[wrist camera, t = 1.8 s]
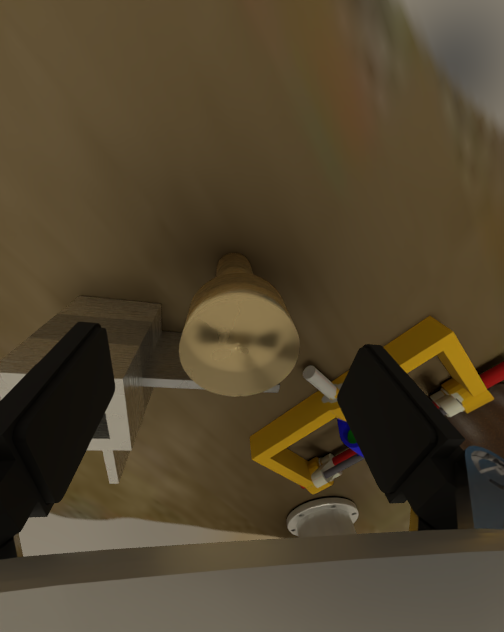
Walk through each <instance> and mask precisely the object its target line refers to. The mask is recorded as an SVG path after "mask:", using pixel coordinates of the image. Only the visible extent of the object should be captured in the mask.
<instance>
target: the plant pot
mask: <svg viewBox="0 0 504 632" xmlns="http://www.w3.org/2000/svg"><path fill="white" fill-rule="evenodd" d="M487 390H488V391H489V392H490V393H491V395H492V396H493V397H494V400H492V401H490V402H488V403H487V404H485V405H483V406H481V407H479V408H477V409H475V410H473V411H471V412H469V413H468V414H467V413H466V412H464V411H463V412H459V413H458V414H456V415H454V416H452V417H447V416H446V415H444V416H445V417H446V418H447V419H448V420H449V421H450V422H451V424H452V425H453V426H454V427H455V428H456V429H457V430H458V431H459V433H460V434H461V435H462V436H463V437H464V438H465V440H464V442H463V443H462V444H461V445H460V447H461V448H462V449H463V450H465V449H466V448H467V447H469V446H479V447H483V448H485V449H487V450H490V451H492V452H493V453H495V454H497V455H498V456H500V457H502V458H503V459H504V384H495V385H494V386H492V387H490V388H488V389H487Z"/></svg>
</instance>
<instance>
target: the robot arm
mask: <svg viewBox="0 0 504 632" xmlns="http://www.w3.org/2000/svg"><path fill="white" fill-rule="evenodd" d="M114 392H115V380H114V374H113V368H112V361H111V355H110V349H109V343H108V336H107V331H106V329H105V328H101V325H100V324H99V323H91V322H78V323H76V324H75V325H74V326H73V327H72V328H71V329H70V330H69V331H68V332H67V333H66V335H65V336H64V337H63V338H62V339H61V340H60V341H59V342H58V343H57V344H56V345H55V346H54V347H53V348H52V349H51V350H50V351H49V352H48V353H47V354H46V355H45V356H44V357H43V358H42V359H41V360H40V361H39V362H38V363H37V364H36V365H35V366H34V367H33V368H32V369H31V370H30V371H29V372H28V373H27V374H26V375H25V376H24V377H23V378H22V379H21V380H20V381H19V382H18V383H17V384H16V385H15V386H14V387H13V388H12V389H11V390H10V391H9V393H8V394H7V395H6V396H5V397H4V398H3V399H2V400H1V401H0V632H504V459H503V458H502V457H500V456H498V455H497V454H495V453H493V452H492V451H490V450H487V449H485V448H483V447H479V446H469V447H467V448H466V449H465V450H463V449H462V448H461V447H460V445H461V444H462V443H463V442H464V440H465V438H464V437H463V436H462V435H461V434H460V433H459V431H458V430H457V429H456V428H455V427H454V426H453V425H452V424H451V422H450V421H449V420H448V419H447V418H446V417H445V416H444V415H443V414H442V412H441V411H440V410H439V409H438V408H437V407H436V406H435V405H434V403H433V402H432V401H431V400H430V399H429V398H428V397H427V396H426V395H425V393H424V392H423V391H422V390H421V389H420V388H419V387H418V386H417V384H416V383H415V382H414V381H413V380H412V379H411V378H410V377H409V375H408V374H407V373H406V372H405V371H404V370H403V369H402V368H401V367H400V365H399V364H398V363H397V362H396V361H395V360H394V359H393V358H392V356H391V355H390V354H389V353H388V352H387V351H386V350H385V349H384V348H383V347H382V346H380V345H370V344H366V345H364V346H363V347H362V348H360V349H359V350H358V352H357V354H356V357H355V359H354V361H353V363H352V365H351V367H350V369H349V371H348V373H347V376H346V378H345V380H344V382H343V384H342V386H341V388H340V390H339V392H338V395H337V402H338V405H339V407H340V409H341V411H342V413H343V415H344V417H345V419H346V421H347V423H348V425H349V427H350V429H351V431H352V433H353V436H354V438H355V440H356V442H357V444H358V446H359V448H360V450H361V452H362V454H363V456H364V458H365V460H366V462H367V464H368V466H369V469H370V471H371V473H372V475H373V477H374V479H375V481H376V483H377V485H378V487H379V489H380V490H381V491H382V492H384V493H385V495H386V497H387V499H388V501H389V503H404V502H405V501H406V500H408V502H409V504H410V506H411V513H410V526H409V531H407V532H388V533H370V534H357V533H356V531H355V528H354V525H353V523H354V522H355V521H356V520H357V518H358V515H359V513H358V510H357V507H356V505H355V504H354V503H353V502H352V501H350V500H348V499H344V498H335V497H331V498H322V499H317V500H313V501H310V502H307V503H305V504H302V505H301V506H299V507H297V508H296V509H294V510H293V511H292V512H291V513H290V514H289V516H288V517H287V527H288V530H289V531H290V532H291V533H292V534H294V535H296V536H299V538H284V539H267V540H251V541H234V542H218V543H203V544H188V545H172V546H159V547H143V548H126V549H112V550H98V551H87V552H75V553H63V554H51V555H39V556H27V557H23V554H22V549H21V543H20V538H19V532H20V531H21V530H22V528H23V526H24V525H25V523H26V521H27V519H28V518H29V517H47V515H48V514H49V512H50V510H51V508H52V506H53V504H54V503H58V502H60V501H61V499H62V498H63V496H64V495H65V493H66V491H67V489H68V487H69V485H70V483H71V481H72V479H73V476H74V474H75V472H76V470H77V468H78V466H79V464H80V462H81V460H82V458H83V456H84V454H85V452H86V450H87V448H88V446H89V444H90V442H91V440H92V438H93V436H94V434H95V432H96V430H97V428H98V426H99V424H100V422H101V420H102V418H103V416H104V414H105V412H106V409H107V407H108V405H109V403H110V401H111V399H112V397H113V395H114Z"/></svg>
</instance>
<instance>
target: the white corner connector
mask: <svg viewBox="0 0 504 632" xmlns="http://www.w3.org/2000/svg"><path fill="white" fill-rule="evenodd" d="M78 322H91V323H99V324H100V325H101V328H105V329H106V331H107V336H108V343H109V349H110V355H111V361H112V368H113V374H114V380H115V392H114V395H113V397H112V399H111V401H110V403H109V405H108V407H107V409H106V412H105V414H104V416H103V418H102V420H101V422H100V424H99V426H98V428H97V430H96V432H95V434H94V436H93V438H92V440H91V442H90V444H89V446H88V448H87V450H103V455H104V460H105V464H106V469H107V473H108V478H109V483H119V481H120V478H121V476H122V473H123V470H124V467H125V464H126V461H127V459H128V456H129V453H130V451H132V448H133V445H134V442H135V439H136V436H137V434H138V431H139V428H140V425H141V422H142V419H143V416H144V413H145V410H146V408H147V405H148V402H149V399H150V396H151V393H152V390H153V387H168V388H189V389H204V388H202V387H200V386H199V385H198V384H196V383H195V382H194V381H193V380H192V379H191V378H190V377H189V376H188V375H187V374H186V372H185V370H184V369H183V367H182V364H181V361H180V357H179V344H180V340H181V336H182V333H179V332H167V331H162V319H161V304H158V303H148V302H138V301H128V300H118V299H107V298H97V297H87V296H79V297H77V298H76V299H75V300H74V301H72V302H71V303H70V304H69V305H68V306H66V307H65V308H64V309H63V310H61V311H60V312H59V313H58V314H57V315H55V316H54V317H53V318H52V319H50V320H49V321H48V322H47V323H45V324H44V325H43V326H42V327H41V328H39V329H38V330H37V331H36V332H34V333H33V334H32V335H31V336H30V337H28V338H27V339H26V340H25V341H23V342H22V343H21V344H20V345H18V346H17V347H16V348H15V349H14V350H12V351H11V352H10V353H9V354H7V355H6V356H5V357H4V358H3V359H1V360H0V401H1V400H2V399H3V398H4V397H5V396H6V395H7V394H8V393H9V391H10V390H11V389H12V388H13V387H14V386H15V385H16V384H17V383H18V382H19V381H20V380H21V379H22V378H23V377H24V376H25V375H26V374H27V373H28V372H29V371H30V370H31V369H32V368H33V367H34V366H35V365H36V364H37V363H38V362H39V361H40V360H41V359H42V358H43V357H44V356H45V355H46V354H47V353H48V352H49V351H50V350H51V349H52V348H53V347H54V346H55V345H56V344H57V343H58V342H59V341H60V340H61V339H62V338H63V337H64V336H65V335H66V333H67V332H68V331H69V330H70V329H71V328H72V327H73V326H74V325H75V324H76V323H78ZM279 387H280V383H279V384H277V385H276V386H274V387H272V388H270V389H269V390H266V391H264V392H273V393H278V391H279Z"/></svg>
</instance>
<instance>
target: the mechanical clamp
mask: <svg viewBox="0 0 504 632" xmlns="http://www.w3.org/2000/svg"><path fill="white" fill-rule="evenodd" d="M383 348H384V349H385V350H386V351H387V352H388V353H389V354H390V355H391V356H392V358H393V359H394V360H395V361H396V362H397V363H398V364H399V365H400V367H401V368H402V369H403V370H404V371H405V372H406V373H408V372H410V371H411V370H413V369H415V368H416V367H418V366H419V365H421V364H423V363H424V362H426V361H427V360H429V359H431V358H432V357H434V356H436V355H437V356H438V358H439V359H440V361H441V362H442V364H443V365H444V367H445V368H446V369H447V371H448V372H449V374H450V375H451V377H452V378H451V379H450V380H448V381H446V382H444V383H443V384H441V386H442V388H440V389H441V390H440V391H438V392H436V393H435V394H433V395H431V396H430V398H431V399H432V400H433V401H432V402H433V403H434V405H435V406H436V407H437V408H438V409H439V410H440V411H441V412H442V414H443V415H446V416H447V417H452V416H454V415H456V414H458V413H459V412H463V411H464V412H466V413H467V414H468V413H469V412H471V411H473V410H475V409H477V408H479V407H481V406H483V405H485V404H487V403H488V402H490V401H492V400H494V397H493V396H492V395H491V393H490V392H489V391H488V390H487V389H488V388H490V387H492V386H494V385H495V384H497V383H499V382H501V381H503V380H504V361H503V362H501V363H500V364H498V365H496V366H494V367H493V368H491V369H489V370H487V371H486V372H484V373H482V374H480V375H478V373H477V371H476V370H475V368H474V366H473V364H472V363H471V361H470V359H469V358H468V356H467V354H466V353H465V351H464V349H463V347H462V346H461V344H460V342H459V341H458V339H457V337H456V336H455V334H454V332H453V331H452V330H450V329H449V328H447V327H446V326H444V325H443V324H441V323H440V322H438V321H437V320H436V319H434V318H433V317H431V316H429V317H427V318H426V319H424V320H423V321H421V322H420V323H418V324H417V325H415V326H414V327H412V328H411V329H409V330H408V331H406V332H405V333H403V334H402V335H400V336H399V337H397V338H396V339H394V340H393V341H391V342H390V343H388V344H387V345H385V346H384V347H383ZM348 371H349V370H348ZM348 371H347V372H345V373H344V374H342V375H341V376H339V377H338V378H336V379H335V380H333V381H332V382H331V381H329V380H328V379H327V378H326V377H325V376H324V375H323V374H322V373H321V372H319V371H318V370H317V369H316V368H315V367H314V366H312V365H311V366H308V367H306V368H305V369H304V371H303V377H304V378H305V379H306V380H307V381H309V382H310V383H311V384H312V385H313V386H315V387H316V388H317V389H318V390H319V391H317V392H316V393H314V394H313V395H311V396H310V397H308V398H307V399H305V400H304V401H302V402H301V403H299V404H298V405H296V406H295V407H293V408H292V409H290V410H289V411H287V412H286V413H284V414H283V415H281V416H280V417H278V418H277V419H275V420H274V421H272V422H271V423H269V424H268V425H267V426H265V427H264V428H262V429H261V430H259V431H258V432H256V433H255V434H253V435H252V436H250V445H251V457H252V460H254V461H256V462H257V463H259V464H261V465H263V466H265V467H267V468H269V469H271V470H273V471H274V472H276V473H278V474H280V475H282V476H284V477H286V478H288V479H290V480H292V481H293V482H295V483H297V484H299V485H300V486H301V488H303V489H304V488H306V489H307V490H308V491H309V492H310V493H311V494H316V493H318V492H320V491H322V490H323V489H325V488H327V487H329V486H331V485H333V483H334V478H336V477H338V476H340V475H341V474H342V470H344V469H346V468H348V467H350V466H351V465H353V464H355V463H357V462H359V461H361V460H363V459H364V456H363V454H362V452H361V450H360V448H359V446H358V444H357V442H356V440H355V438H354V436H353V433H352V431H351V429H350V427H349V425H348V423H347V421H346V419H345V417H344V415H343V413H342V411H341V409H340V407H339V405H338V402H337V395H338V392H339V390H340V388H341V386H342V384H343V382H344V380H345V378H346V376H347V373H348ZM335 417H336V418H337V421H338V427H339V433H340V438H341V440H342V442H343V443H344V444H345V445H346V446H348V447H349V449H347V450H346V451H344V452H342V453H340V454H339V455H337V456H335V457H334V455H332V454H331V453H330V454H328V455H326V456H325V457H323V458H321V457H320V458H318V457H315V458H313V459H311V460H310V461H307V460H305V459H303V458H302V457H300V456H299V455H297V454H295V453H294V452H292V451H290V450H289V449H287V447H289V446H290V445H292V444H293V443H295V442H297V441H298V440H300V439H301V438H303V437H305V436H306V435H308V434H310V433H311V432H313V431H314V430H316V429H318V428H319V427H321V426H322V425H324V424H326V423H327V422H329V421H331V420H332V419H334V418H335Z"/></svg>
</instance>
